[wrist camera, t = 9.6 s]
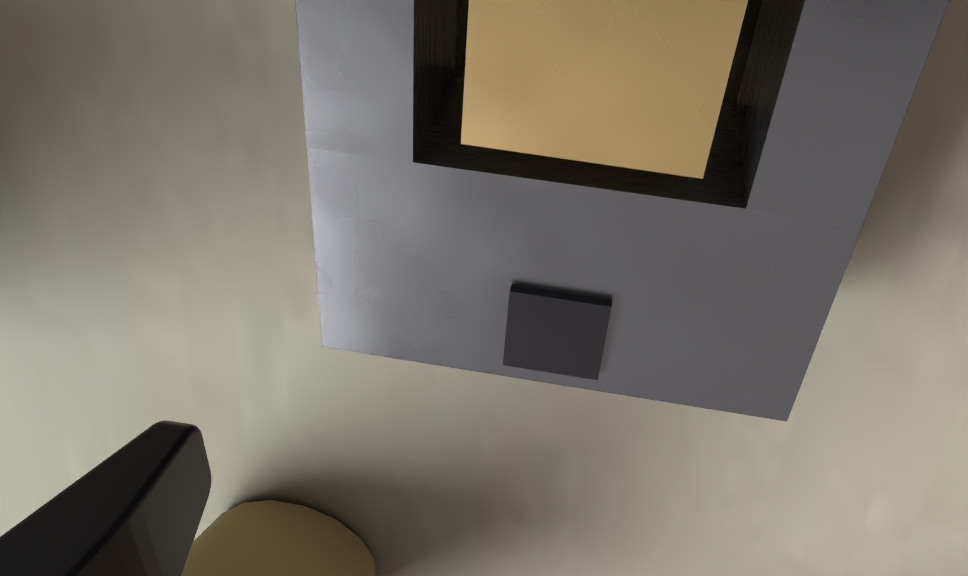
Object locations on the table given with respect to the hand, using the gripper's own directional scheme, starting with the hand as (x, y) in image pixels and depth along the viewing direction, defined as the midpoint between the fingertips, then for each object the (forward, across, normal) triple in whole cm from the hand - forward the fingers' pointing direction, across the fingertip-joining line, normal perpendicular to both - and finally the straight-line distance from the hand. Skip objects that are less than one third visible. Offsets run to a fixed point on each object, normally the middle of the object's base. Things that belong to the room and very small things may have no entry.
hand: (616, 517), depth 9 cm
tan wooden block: (+12, +1, -2) cm, 12 cm away
